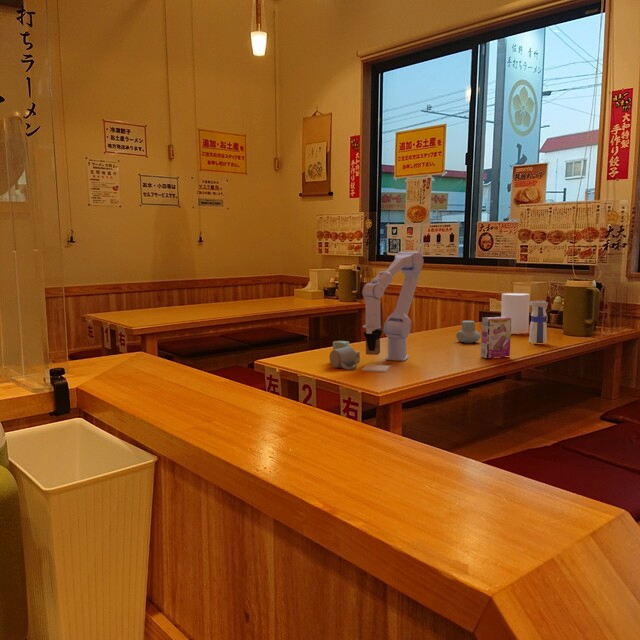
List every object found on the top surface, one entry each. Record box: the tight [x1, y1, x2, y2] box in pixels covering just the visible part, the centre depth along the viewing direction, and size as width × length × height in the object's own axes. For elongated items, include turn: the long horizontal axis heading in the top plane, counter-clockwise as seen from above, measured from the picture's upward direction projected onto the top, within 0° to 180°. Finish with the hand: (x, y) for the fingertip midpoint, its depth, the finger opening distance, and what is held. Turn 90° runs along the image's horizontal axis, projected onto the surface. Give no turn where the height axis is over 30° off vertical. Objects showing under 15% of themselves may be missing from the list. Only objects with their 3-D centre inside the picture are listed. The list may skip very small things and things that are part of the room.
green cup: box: [332, 340, 350, 351], centre depth 234 cm, size 6×6×8 cm
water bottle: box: [528, 291, 550, 344], centre depth 272 cm, size 8×9×25 cm
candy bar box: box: [480, 316, 512, 359], centre depth 240 cm, size 11×5×16 cm, turn 111°
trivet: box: [361, 363, 391, 373], centre depth 221 cm, size 9×9×1 cm
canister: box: [500, 292, 531, 334], centre depth 304 cm, size 14×14×20 cm
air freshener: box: [455, 320, 481, 344], centre depth 277 cm, size 11×8×10 cm
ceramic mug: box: [328, 345, 358, 371], centre depth 224 cm, size 11×8×8 cm
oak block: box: [354, 350, 361, 363], centre depth 236 cm, size 4×4×4 cm
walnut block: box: [365, 338, 381, 356], centre depth 229 cm, size 5×5×6 cm
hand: (373, 349), depth 229 cm, fingers closed on walnut block, 5 cm apart
